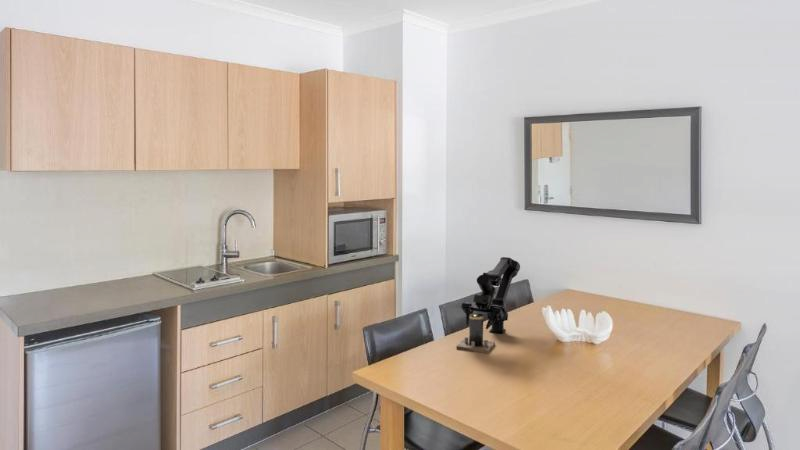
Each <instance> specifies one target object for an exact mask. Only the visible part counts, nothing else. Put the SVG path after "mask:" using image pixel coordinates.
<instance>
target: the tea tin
mask: <svg viewBox="0 0 800 450" xmlns="http://www.w3.org/2000/svg"><path fill="white" fill-rule="evenodd" d="M469 318H470V323H469V325H468V326H469V334H468V335H469V336H468V338H469V345H471V342H472V341H474V342H475V346H482V345H483V341H484V319H485V318H484V315H483V313H472V314H470V317H469Z"/></svg>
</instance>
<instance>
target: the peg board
mask: <svg viewBox="0 0 800 450" xmlns="http://www.w3.org/2000/svg"><path fill="white" fill-rule="evenodd" d="M495 346H496V342H495V341H488V339H483V345H482V346H475V342H474V341H472V342H471V345H469V336H468V337H467V336H464V339H462V340H461V341H460V342H459V343H458V344H457V345H456V349H457V350H462V351H468V352H475V353H481V354H482V353H483V354H489V353H490V352H491V350H492V349H493V348H494V347H495Z"/></svg>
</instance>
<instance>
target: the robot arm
mask: <svg viewBox="0 0 800 450" xmlns="http://www.w3.org/2000/svg"><path fill="white" fill-rule="evenodd" d="M520 269H521V264H520V262H518V261H517V260H514V259H513V258H511V257H506V256H502V257H500V259H499V262H498V263H497V264H496V265H495V267H493V269H492V270H488V271H487V272H483V273H482V274H481V275H479V276H478V277H477V278H476V284H477V286H478V287H479V289H480V290H481V293H480V294H474V295H473V301H472V302H473V303H474V305H475V306H473V305H472V303H471V302H465V301H464V302H462V303H461V306H460V307H461V309H462V312H463V313H464V314H465V319H466V320H465V321H466V322H465V323H466V326H467V327H468V326H469V324H470V318H469V317H470V314H474V312H477V313H482V314H483V313H484V314H487V319H488V321H486V322H487V323H486V324H485V325H486V326H485V329H486V330H488V329H489V328H490V330H489V333H496V334H500V335H501V334H504V333H505V331H506V328H505V326H504V323H505V321H508V319H509V313H508V311H507V307H506V303H505V302H506V300H507V296H508V293H509V290H510V287H511V283H512V281H513V278H515V277H516V276H518V273H519V271H520ZM496 287H498V290H497V292H496ZM495 295H496V296H495ZM494 297H495V298H494Z"/></svg>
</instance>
